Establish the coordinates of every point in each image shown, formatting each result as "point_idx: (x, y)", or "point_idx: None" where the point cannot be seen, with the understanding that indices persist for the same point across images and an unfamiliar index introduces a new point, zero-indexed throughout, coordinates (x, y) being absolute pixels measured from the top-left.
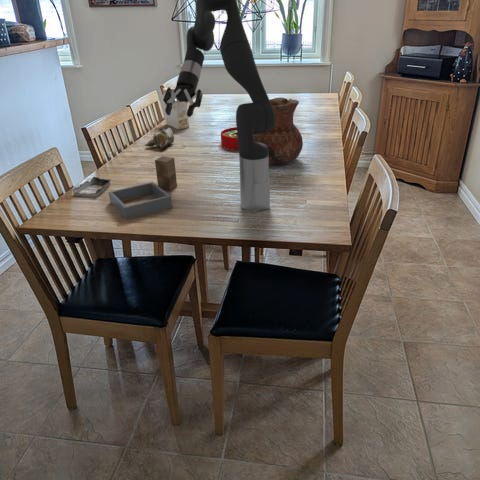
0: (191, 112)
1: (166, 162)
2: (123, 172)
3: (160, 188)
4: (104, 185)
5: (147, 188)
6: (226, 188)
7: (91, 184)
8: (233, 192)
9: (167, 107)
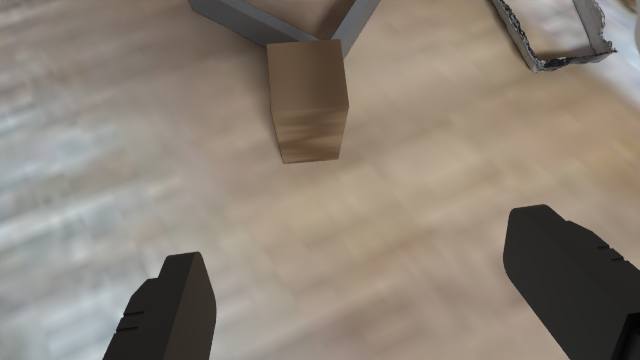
0: (132, 309)
1: (270, 46)
2: (600, 198)
3: (258, 18)
4: (512, 18)
5: None
6: (73, 224)
7: (592, 46)
8: (30, 199)
9: (590, 247)
